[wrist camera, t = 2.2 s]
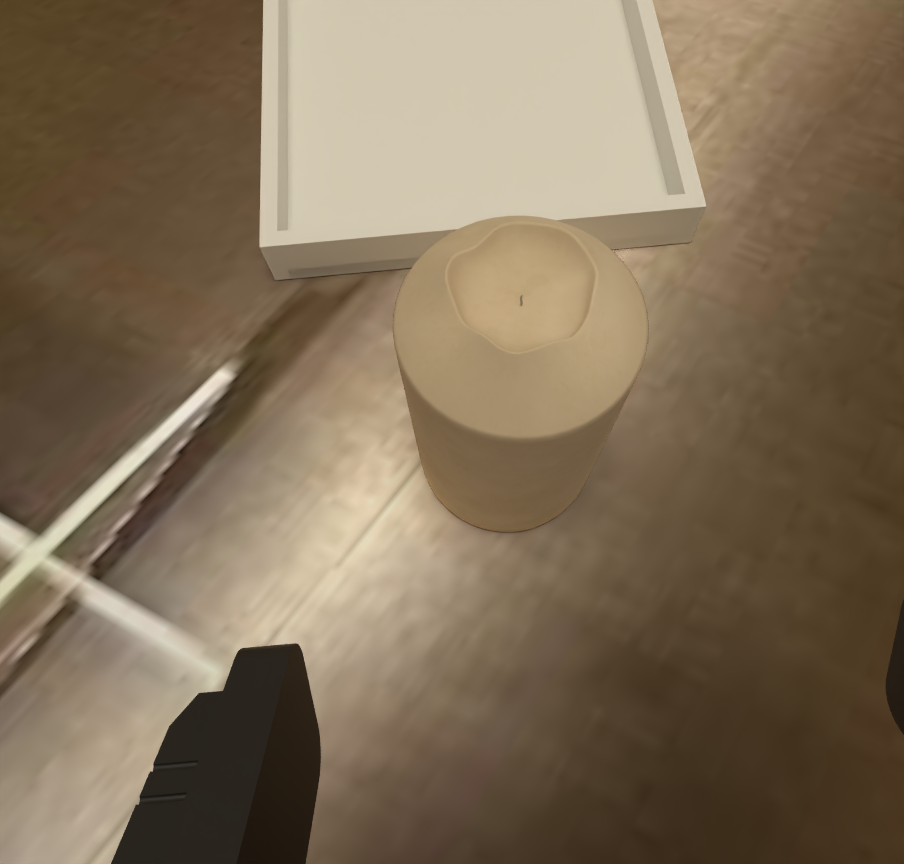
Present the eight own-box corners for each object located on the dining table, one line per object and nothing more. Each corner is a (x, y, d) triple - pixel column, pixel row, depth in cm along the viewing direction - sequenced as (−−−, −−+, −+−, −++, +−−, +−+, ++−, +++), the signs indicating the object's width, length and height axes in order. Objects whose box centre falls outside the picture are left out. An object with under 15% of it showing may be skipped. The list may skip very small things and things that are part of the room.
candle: (564, 557, 22) (628, 448, 13) (397, 503, 23) (341, 363, 13) (608, 402, 24) (693, 205, 14) (452, 357, 25) (437, 144, 15)
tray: (275, 280, 26) (259, 247, 24) (277, -73, 33) (265, -120, 31) (689, 242, 26) (706, 206, 24) (604, -103, 33) (612, -152, 31)
